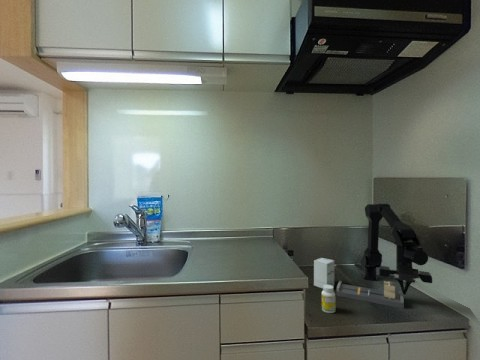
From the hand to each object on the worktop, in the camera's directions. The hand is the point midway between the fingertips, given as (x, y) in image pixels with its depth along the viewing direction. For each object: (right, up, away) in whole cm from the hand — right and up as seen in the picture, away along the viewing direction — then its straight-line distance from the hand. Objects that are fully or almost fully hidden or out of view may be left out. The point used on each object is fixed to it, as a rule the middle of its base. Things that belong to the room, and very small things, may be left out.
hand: (404, 294), depth 112 cm
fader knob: (-5, -2, +3) cm, 6 cm away
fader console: (-12, -4, +6) cm, 14 cm away
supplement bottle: (-34, -5, -5) cm, 34 cm away
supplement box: (-28, -4, +19) cm, 34 cm away
